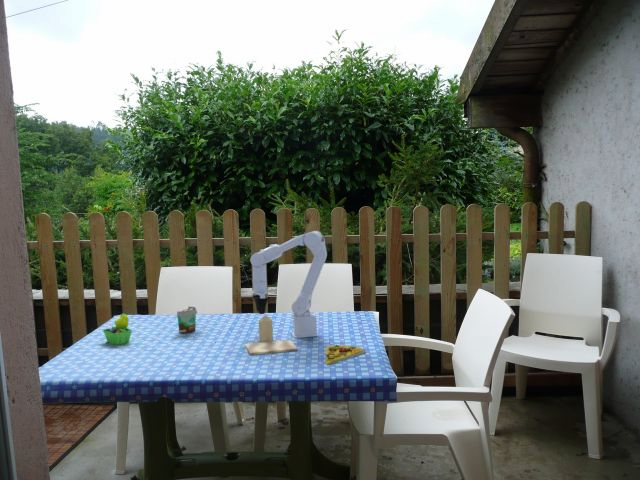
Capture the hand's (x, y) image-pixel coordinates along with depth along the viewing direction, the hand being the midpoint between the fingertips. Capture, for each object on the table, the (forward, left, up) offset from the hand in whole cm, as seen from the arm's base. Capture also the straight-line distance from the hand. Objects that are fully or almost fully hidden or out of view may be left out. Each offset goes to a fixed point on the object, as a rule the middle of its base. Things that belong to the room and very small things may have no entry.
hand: (260, 312), depth 238 cm
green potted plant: (+58, -9, -10) cm, 59 cm away
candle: (0, +12, -10) cm, 15 cm away
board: (0, +23, -9) cm, 25 cm away
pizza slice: (-21, +43, -10) cm, 49 cm away
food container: (+29, -17, -10) cm, 35 cm away
